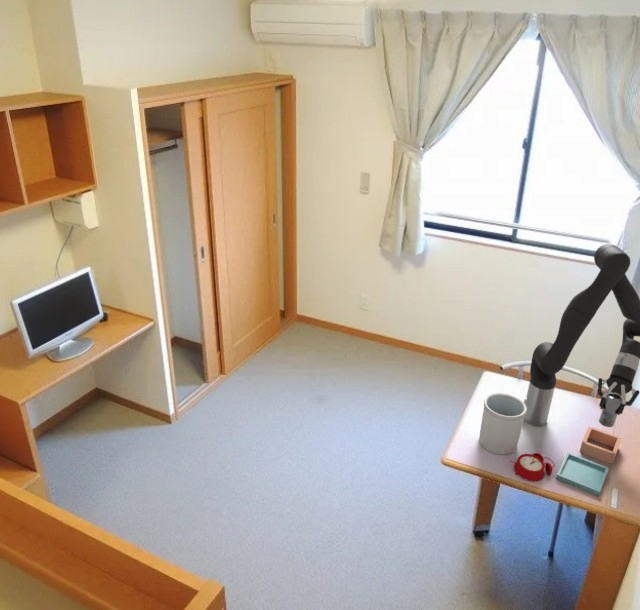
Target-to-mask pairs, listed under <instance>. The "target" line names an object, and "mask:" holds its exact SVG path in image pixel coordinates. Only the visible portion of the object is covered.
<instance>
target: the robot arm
mask: <svg viewBox="0 0 640 610" xmlns="http://www.w3.org/2000/svg"><path fill="white" fill-rule="evenodd" d="M593 260H594V261H593V262H594V263H595V265H596V267H597V268H598V269H599V272H598V274H597V275H596V277H595V279H594V280H593V282H591V284H590V285H589V286H588V287H586V288H584V289H583V290H581V291H580V292H579V293H577V294H576V295H575V296H573V298H572V299H571V300H570V301H569V303H568V305H567V306H566V308H565V309H564V312H563V313H562V315H561V318H560V322H559V323H560V324H559V327H558V332H557V335H556V338H555V340H554V342H548V341H546V342H542V343H540V344H538V345H537V346H536V347H535V349H534V351H533V353H532V357H531V363H530V368H529V369H530V370H529V374H530V379H529V384H528V388H527V393H526V396H525V398H524V400H523V402H524V403H525V405H526V407H527V411H526V414H525V416H524V421H523V422H526V423H527V424H528V425H531V426H533V427H542V426H545V425H546V424H547V422H548V418H549V414H550V408H551V405H552V400H553V397H554V394H555V392H554V391H555V389H556V384H557V377H556V374H558V373H559V372H560V371H561V370H562V369H563V368H564V366H565V364H566V363H567V361H568V359H569V357H570V356H571V352H572V351H573V349H574V347H575V345H576V344H577V342H578V341H579V339H580V338H581V337H582V334H583V333H584V331H585V330H586V329H587V327H588V325H589V324H590V323H591V322H592V320H593V318H594V316H595V315H596V314H597V312H598V310H599V309H600V308H601V306H602V305H603V303H604V301H605V300H606V299H607V297H608V296H609V294H610V293H611V292H612V293H613V296H614V298H615V300H616V302H617V305H618V307H619V310H620V311H621V314H622V316H623V317H624V318H625V320H624V321H623V325H622V341H621V342H622V343H621V346H620V349H619V351H618V354H617V356H616V357H615V361H614V363H613V366H612V369H611V372H610V375H609V377H608V378H607V379H602V378H601V377H599V378H598V382H597V383H598V384H597V396H599V397H600V398H601V399H600V401H599V404H598V406H599V407H600V410H602V409H603V406H604V403H605V400H606V396H607V394H616V395H618V396H620V397H621V398H622V402H621V405H620V407H619V410H618V413H617V416H620V415H623V412H624V409H625V407H626V406H628V407H631V406H632V405H633V404H634V402H635V401H636V399H637V398H638V396H639V395H640V391H639V390H636V389H635V388H633V382H634V381H635V380H634V379H635V376H636V374H637V372H638V368H639V364H640V341H638V340H636V339H635V337H638V338H640V296H639V294H638V292H637V290H636V289H635V288H634V286H633V284H632V283H631V281H630V280H629V278H628V277H627V276H628V275H626V273H627V271H628V270H629V268H630V267H631V258H630V256H629V255H628V254H627V253H626V252H625V251H624V250H623V249H621V248H620V247H618V246H617V245H615V244H612V243H606V244H602V245H601V246H599V247H598V248H597V249H596V250H595V253H594V256H593ZM605 384H606V385H607V389H606V390H605V392H604V393H603V392H602V391H603V390H602V388H603V386H605ZM629 392H631V398H630V399H629V400H628V401H627V400H626V394H628V393H629Z"/></svg>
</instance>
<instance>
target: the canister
mask: <svg viewBox="0 0 640 610" xmlns="http://www.w3.org/2000/svg"><path fill="white" fill-rule="evenodd" d="M621 402H622V398H621V396H619V395H617V394H613V393H611V394H607V396H606V400H605V403H604V406H603V409H601V413H600V416H599V419H598V423H599V424H600V425H602V426H603V427H607V428H613V427H614V425H615V423H616V419H617V417H618V415H617V413H618V410H619V407H620V405H621Z"/></svg>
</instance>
